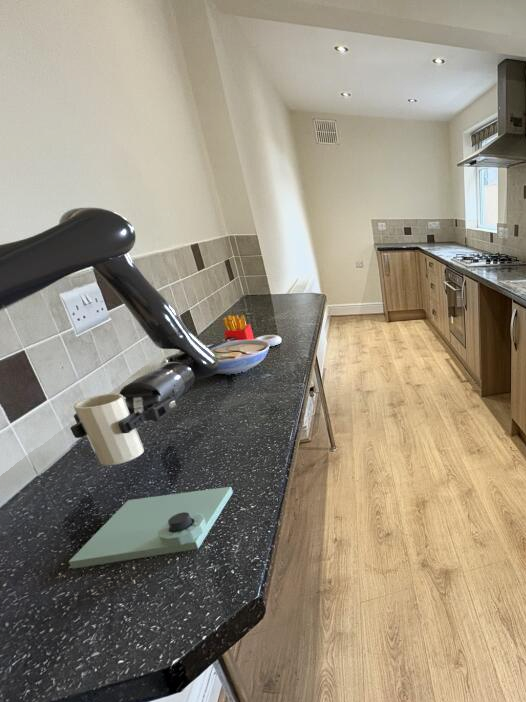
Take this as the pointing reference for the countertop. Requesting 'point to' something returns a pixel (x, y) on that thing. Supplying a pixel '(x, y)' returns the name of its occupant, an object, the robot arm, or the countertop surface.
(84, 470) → the countertop surface
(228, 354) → the ramen bowl
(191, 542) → the scale
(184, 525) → the button
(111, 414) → the cup
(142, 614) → the countertop surface
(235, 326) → the french fries container
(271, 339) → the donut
